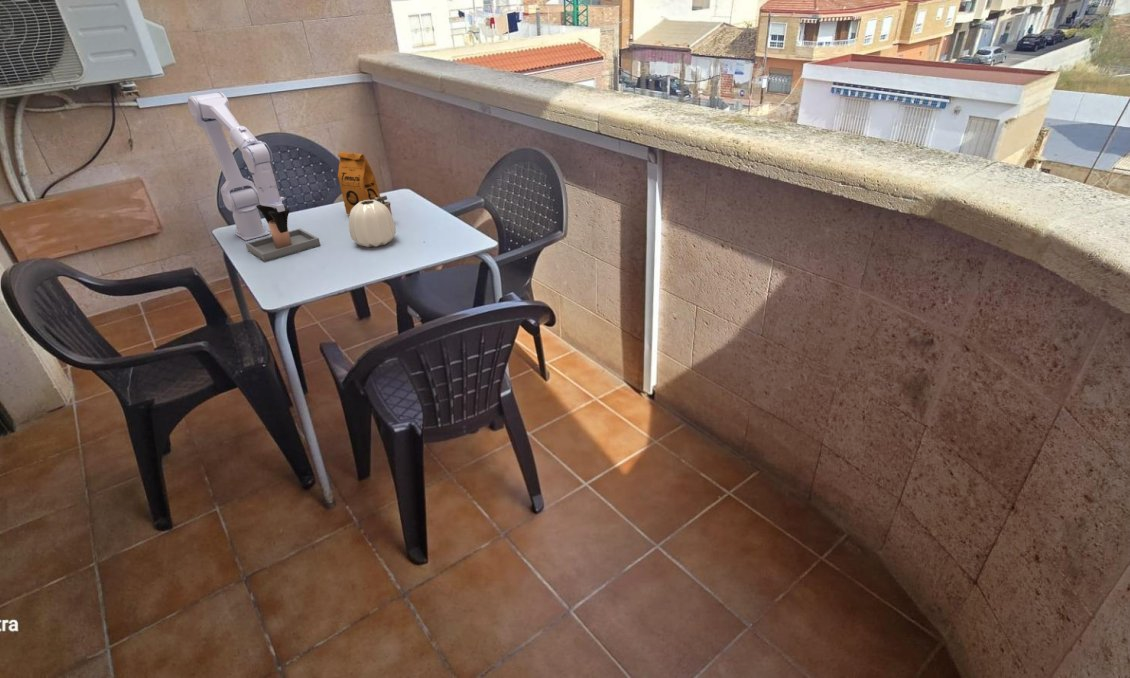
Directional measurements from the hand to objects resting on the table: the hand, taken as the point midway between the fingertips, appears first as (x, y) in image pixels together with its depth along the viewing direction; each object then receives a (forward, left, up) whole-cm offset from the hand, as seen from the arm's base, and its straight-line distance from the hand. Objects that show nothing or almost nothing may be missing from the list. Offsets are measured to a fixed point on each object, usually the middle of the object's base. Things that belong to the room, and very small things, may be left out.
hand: (278, 229), depth 180 cm
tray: (0, 0, -6) cm, 6 cm away
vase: (+18, +22, -7) cm, 29 cm away
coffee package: (-10, +34, -7) cm, 36 cm away
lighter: (+6, +32, -7) cm, 33 cm away
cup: (0, 0, -6) cm, 6 cm away
